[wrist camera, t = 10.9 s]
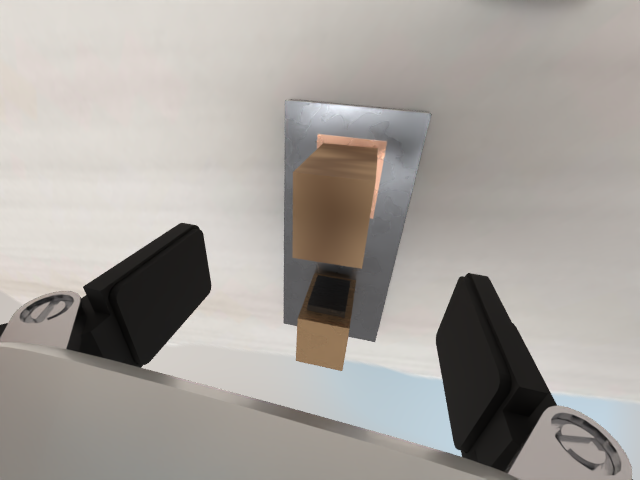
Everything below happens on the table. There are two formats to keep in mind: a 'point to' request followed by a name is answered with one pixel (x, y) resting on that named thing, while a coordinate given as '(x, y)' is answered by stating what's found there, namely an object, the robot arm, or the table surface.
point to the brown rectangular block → (334, 204)
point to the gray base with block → (383, 232)
